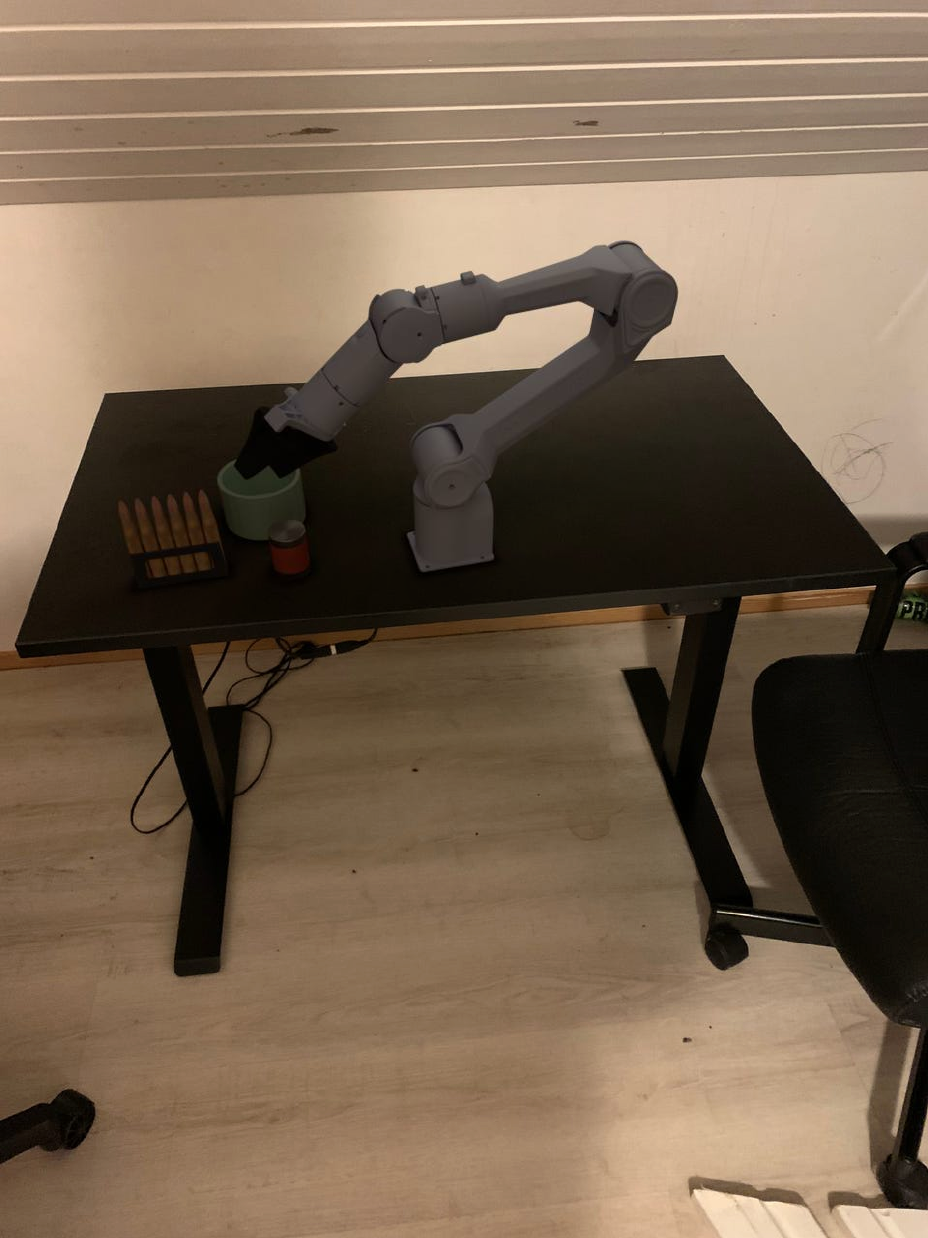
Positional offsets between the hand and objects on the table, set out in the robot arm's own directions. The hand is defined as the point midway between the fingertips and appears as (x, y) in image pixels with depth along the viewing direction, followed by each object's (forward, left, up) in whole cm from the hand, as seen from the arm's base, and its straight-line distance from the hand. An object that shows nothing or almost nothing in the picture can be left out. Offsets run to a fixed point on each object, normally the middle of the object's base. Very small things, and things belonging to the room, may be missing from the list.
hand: (258, 472), depth 96 cm
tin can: (-2, 0, -15) cm, 15 cm away
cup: (0, -12, -15) cm, 19 cm away
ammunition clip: (+11, -2, -15) cm, 19 cm away
